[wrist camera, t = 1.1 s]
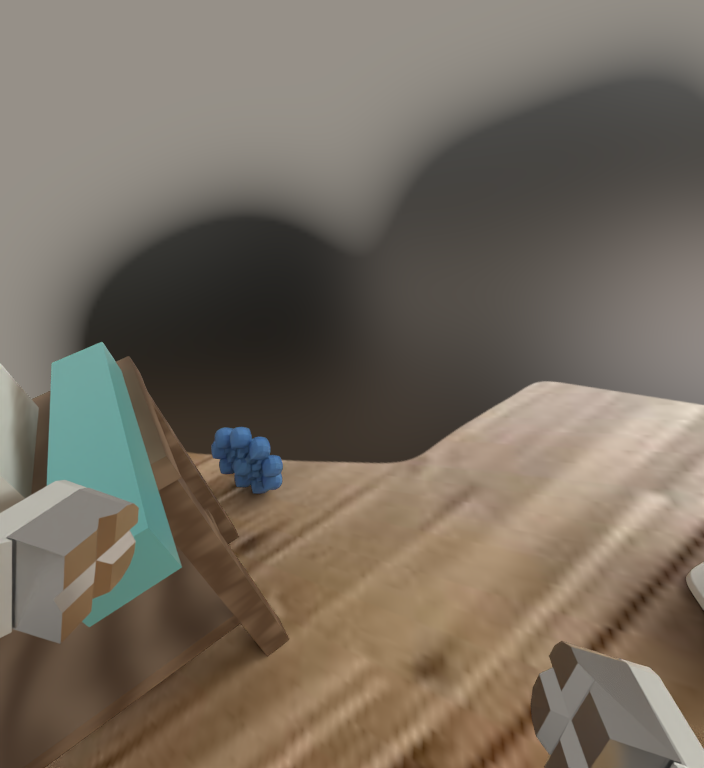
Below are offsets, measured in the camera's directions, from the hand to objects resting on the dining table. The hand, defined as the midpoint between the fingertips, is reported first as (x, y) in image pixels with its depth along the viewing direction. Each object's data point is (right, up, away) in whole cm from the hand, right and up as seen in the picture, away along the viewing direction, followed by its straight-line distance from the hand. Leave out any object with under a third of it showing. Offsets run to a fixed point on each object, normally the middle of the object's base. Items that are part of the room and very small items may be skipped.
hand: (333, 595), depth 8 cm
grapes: (-12, -10, +50) cm, 52 cm away
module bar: (-15, 0, +19) cm, 24 cm away
